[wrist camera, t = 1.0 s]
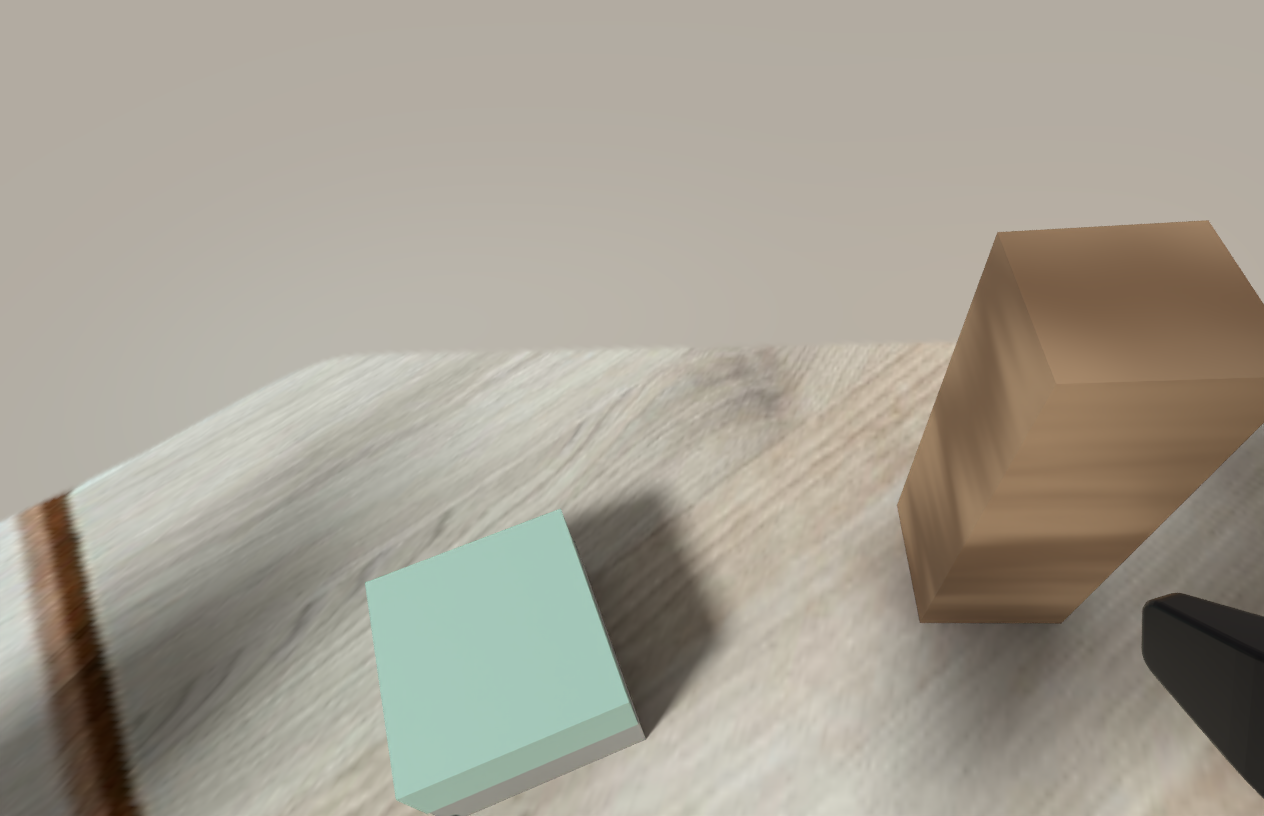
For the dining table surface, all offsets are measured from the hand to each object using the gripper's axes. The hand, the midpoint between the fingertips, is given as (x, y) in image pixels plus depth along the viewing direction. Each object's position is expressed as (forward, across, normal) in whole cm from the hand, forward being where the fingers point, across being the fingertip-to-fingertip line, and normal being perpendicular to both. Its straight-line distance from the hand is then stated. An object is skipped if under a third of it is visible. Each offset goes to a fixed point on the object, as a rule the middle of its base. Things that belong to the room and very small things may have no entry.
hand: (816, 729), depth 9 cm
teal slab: (+13, +6, +7) cm, 16 cm away
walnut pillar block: (+14, -10, +9) cm, 19 cm away
